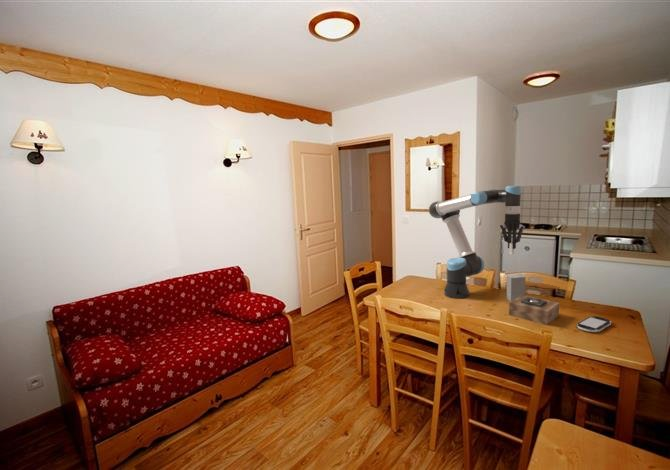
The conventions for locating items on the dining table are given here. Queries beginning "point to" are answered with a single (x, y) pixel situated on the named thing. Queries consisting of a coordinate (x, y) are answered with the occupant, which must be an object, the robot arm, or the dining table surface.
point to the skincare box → (515, 286)
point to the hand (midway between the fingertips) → (511, 254)
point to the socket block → (534, 309)
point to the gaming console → (593, 324)
